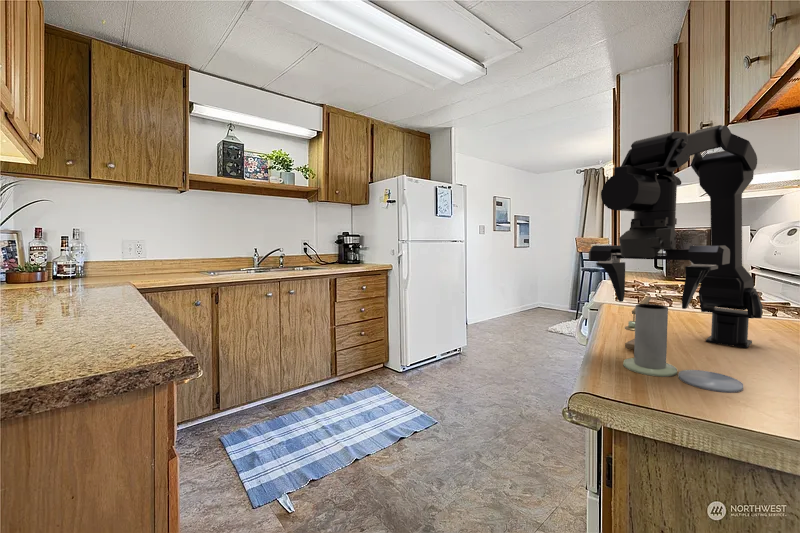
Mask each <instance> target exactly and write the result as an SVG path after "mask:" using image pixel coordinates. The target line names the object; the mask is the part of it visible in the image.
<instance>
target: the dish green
mask: <svg viewBox="0 0 800 533" xmlns="http://www.w3.org/2000/svg"><path fill="white" fill-rule="evenodd" d="M623 367H624V368H626V370H629V371H631V372H634V373H636V374H641V375H645V376H651V377H658V378H660V377H662V378H668V377H675V376H676V375H677V374H678V368H677V367H676V366H675V365H673V364H670V363H668V362H666V368H664V369H649V368H644V367H641V366H638V365H636V364H635V363H634V357H631V358H626V359H624V360H623Z"/></svg>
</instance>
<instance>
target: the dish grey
mask: <svg viewBox="0 0 800 533" xmlns="http://www.w3.org/2000/svg"><path fill="white" fill-rule="evenodd" d="M677 377H678V379H679V380H680V381H682V382H683V383H685V384H687V385H688V386H689V385H690V386H692V387H696V388H699V389H703V390H706V391H712V392H718V393H726V394H727V393H730V394H731V393H740V392H742V391H744V383H743V382H742V381H740V380H738V378H737V379H736V378H734V377H731V376H728V375H725V374H723V373H717V372H714V371H709V370H708V371H707V370H700V369H684V370H683V369H682V370H680V371H679V372H678V376H677Z"/></svg>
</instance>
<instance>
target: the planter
mask: <svg viewBox="0 0 800 533" xmlns="http://www.w3.org/2000/svg"><path fill="white" fill-rule="evenodd" d="M635 307H636V311H635V331H634V339H635V346H634V350H633V352H634V353H633V356H634V357H633V358H634V363H635V364H636V365H638V366H641V367H644V368H649V369H664V368H666V363H667V352H668V351H667V348H668V346H667V345H668V319H669V307H668V306H666V305H662V304H654V303H649V304H648V303H647V304H639V303H638V304H636V305H635Z"/></svg>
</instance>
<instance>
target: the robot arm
mask: <svg viewBox="0 0 800 533" xmlns="http://www.w3.org/2000/svg"><path fill="white" fill-rule="evenodd" d="M719 148H721V149H722V151H716V152H715V151H714V152H710V153H705V154H704V155H703V156H702V154H701V153H704V152H707V151H709V150H713V149H714V150H715V149H719ZM754 149H755V148H754V147H753V146H752V144H751V142H750V141H749V140H747V139H745V138H743V137H742V136H739V135H736V134H734V133H732V132H731V130H730V129H729V126H728V125H721V124H719V125H715V126H711V127H710V126H709V127H705V128H702V129H698V130H695V131H693V132H692V133H687V132H685V131H671V132H667V133H662V134H658V135H655V136H650V137H648V138H642V139H638V140H635V141H634V142H632V144H630V149H629V150H628V151H627V154H626V156H624V157H625V158H624V160H623V162H622V164H621V165H620V166H615V167H614V169H613V170H614V171H613V175H612V176H610V177H609V178H608V179H607V180H606V181H605V183H604V184H603V187H602V189H601V191H600V198H601V201H602V203H603V205H604V206H605V207H606V208H607V209H609V210H612V211H617V212H618V211H622V212H633V218H631V220H630V227H629V230H627V231H625V232H624V233H623V234H622V235H621V236H619V238H618V240H619V245H592V246H591V247H590V249H589V250H588V261H589V262H596V263H595V265H596V266H597V267H601V268H603V270H604V271H605V272H606V273H607V275H608V277H609V279H610V282H611V284H612V286H613V290H614V292H615V296H616V298H617V301H618V302H620V303H622V302H624V299H625V293H626V291H625V290H626V286H625V285H626V262H625V261H624V262H621V260H622V259H626V260H627V259H629V260H633V259H634V260H661V261H663V260H669V261H671V260H672V261H689V262H690V265H685V267H684V268H685V269H684V270H685V272H684V273H685V280H684V283H683V284H684V286H683V291H682V297H681V308H682V309H683V310H686V309H688V306H689V305H690V302H691V301H692V298H693V297H694V295H695V293H696V292H697V289H698V298H699V306H700V312H701V313H710V314H711V313H712V314H711V333H710V334H711V335H710V336H709V337H707V338H705V342H706V343H711V344H719V345H725V346H731V347H738V348H743V349H748V348H749V347H750V345H752V344H753V340H751V339H748V337H749V320H750V319H762V318H763V311H764V310H763V308H764V306H763V303H762V301H761V298H760V296H759V293H758V291H757V289H756V288H755V287H754V286H755V285H754V278H753V277H752V275H751V274H750V273H749V272H748V271H747V269H746V268H745V267H744V266H743V200H742V199H743V193H744V191H745V190H746V189H747V188H748V186H750V184H751V182H752V181H753V180H754V171H755V170H756V169H757V166H758V156H757V154H756V151H755V150H754ZM691 156H693V158H692V159H691V163H690V167H691V168H692V170H693V172H694V173H695V174H696V176H697V177H698V180H699V186H700V188H701V189H702V190H703V191H704V192H705V193H706V194H707V196H709V200H710V201H709V202H710V207H709V208H710V244H709V245H704V244H703V245H700V244H699V245H690V246H689V248H688V249H687V248H683V249H681V248H678V249H677V248H676V247H677V246H676V243H677V234H676V225H677V218H676V217H677V215H676V214H677V212H676V211H677V190H678V189H677V188H678V186H681V184H682V180H681V179H680V177H678V176H677V175H676V174H675V173H674V172H675V171H676V170H677V169H679V168H681V167H682V166H684V165H685V164H686V163H687V162H689V161H690V157H691ZM661 250H662V251H663V252H660V251H661ZM699 286H700V287H699ZM698 287H699V288H698Z"/></svg>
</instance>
